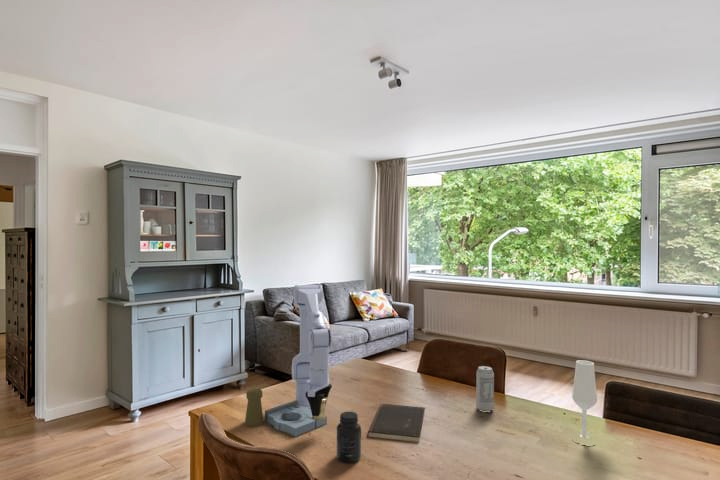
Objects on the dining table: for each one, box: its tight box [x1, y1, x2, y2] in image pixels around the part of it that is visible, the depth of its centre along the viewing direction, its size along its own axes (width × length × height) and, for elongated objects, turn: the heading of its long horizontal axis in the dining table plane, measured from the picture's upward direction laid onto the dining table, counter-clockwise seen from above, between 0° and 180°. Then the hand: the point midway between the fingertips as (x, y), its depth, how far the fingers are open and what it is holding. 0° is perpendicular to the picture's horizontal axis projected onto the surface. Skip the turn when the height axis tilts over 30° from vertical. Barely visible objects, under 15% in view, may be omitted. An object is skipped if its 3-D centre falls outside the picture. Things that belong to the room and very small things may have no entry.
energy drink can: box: [475, 365, 495, 411], centre depth 154 cm, size 6×6×15 cm
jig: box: [264, 399, 328, 437], centre depth 142 cm, size 14×16×4 cm
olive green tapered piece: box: [244, 387, 265, 428], centre depth 142 cm, size 6×6×11 cm
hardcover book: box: [366, 403, 426, 443], centre depth 142 cm, size 16×23×2 cm
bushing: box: [312, 397, 328, 421], centre depth 133 cm, size 5×5×6 cm
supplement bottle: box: [336, 411, 362, 464], centre depth 120 cm, size 7×7×12 cm
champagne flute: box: [571, 359, 598, 438], centre depth 131 cm, size 7×7×24 cm
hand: (318, 411), depth 133 cm, fingers closed on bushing, 5 cm apart
